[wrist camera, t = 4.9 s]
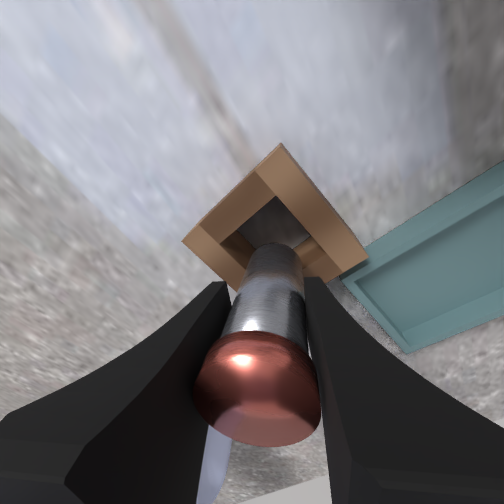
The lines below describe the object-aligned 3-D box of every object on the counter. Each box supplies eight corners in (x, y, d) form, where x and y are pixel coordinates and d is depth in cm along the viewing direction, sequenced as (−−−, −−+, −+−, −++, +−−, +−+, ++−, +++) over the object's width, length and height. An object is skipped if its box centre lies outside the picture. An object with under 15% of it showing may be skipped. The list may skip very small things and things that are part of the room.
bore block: (353, 232, 17) (369, 256, 14) (268, 289, 20) (266, 319, 17) (281, 142, 15) (280, 146, 12) (199, 221, 18) (181, 241, 15)
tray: (567, 258, 16) (602, 275, 14) (396, 335, 21) (406, 354, 19) (515, 152, 14) (549, 156, 12) (335, 266, 18) (340, 280, 17)
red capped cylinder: (318, 272, 13) (348, 425, 6) (271, 302, 15) (250, 458, 7) (279, 227, 13) (260, 338, 5) (233, 262, 14) (168, 391, 7)
